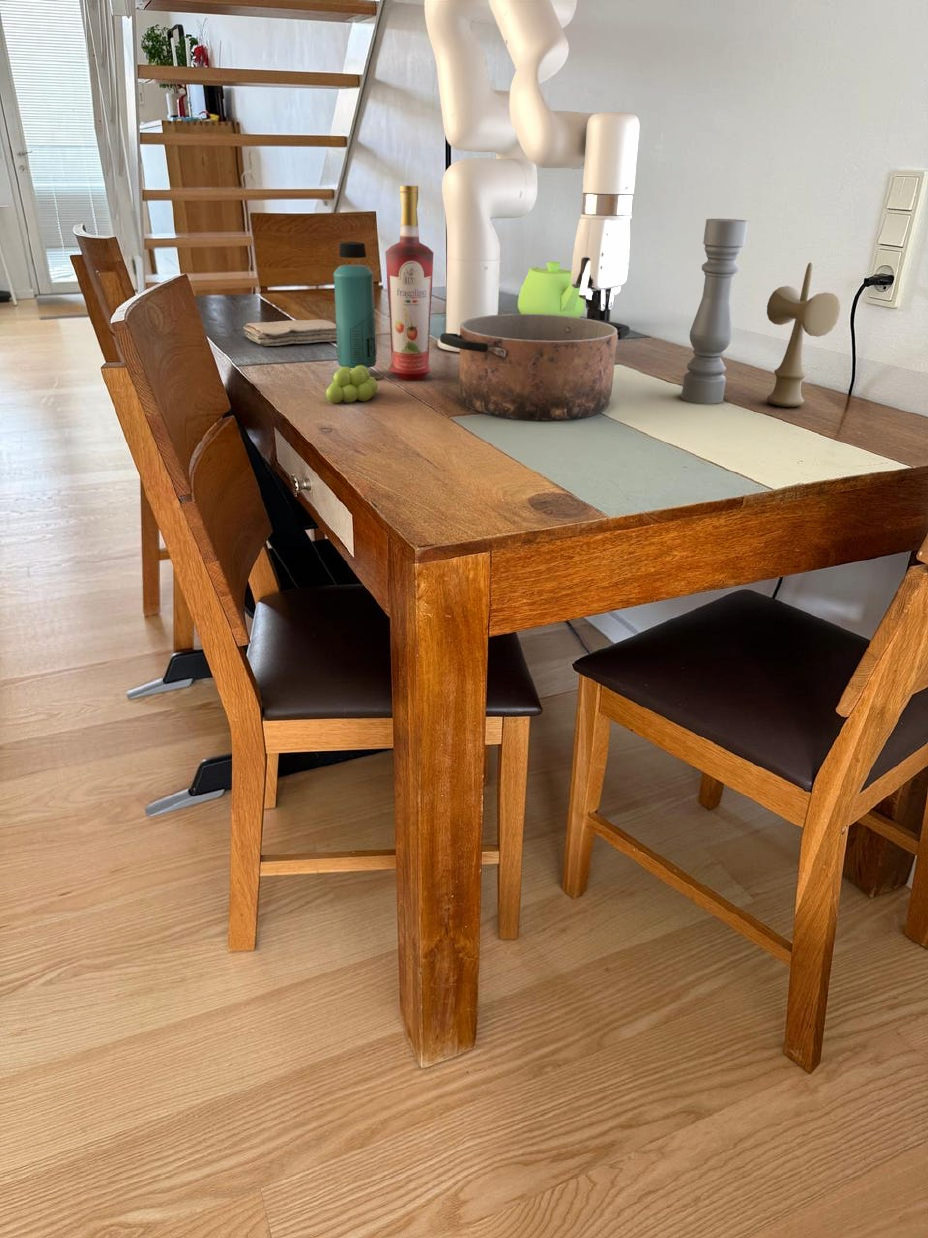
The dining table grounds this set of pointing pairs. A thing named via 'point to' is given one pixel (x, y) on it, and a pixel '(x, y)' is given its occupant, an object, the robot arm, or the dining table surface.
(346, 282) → the beverage bottle
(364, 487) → the dining table surface
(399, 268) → the liquor
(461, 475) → the dining table surface
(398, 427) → the dining table surface
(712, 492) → the dining table surface
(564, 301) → the teapot
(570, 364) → the cooking pot
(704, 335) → the candle holder
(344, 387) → the grapes
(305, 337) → the washcloth
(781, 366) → the kendama
